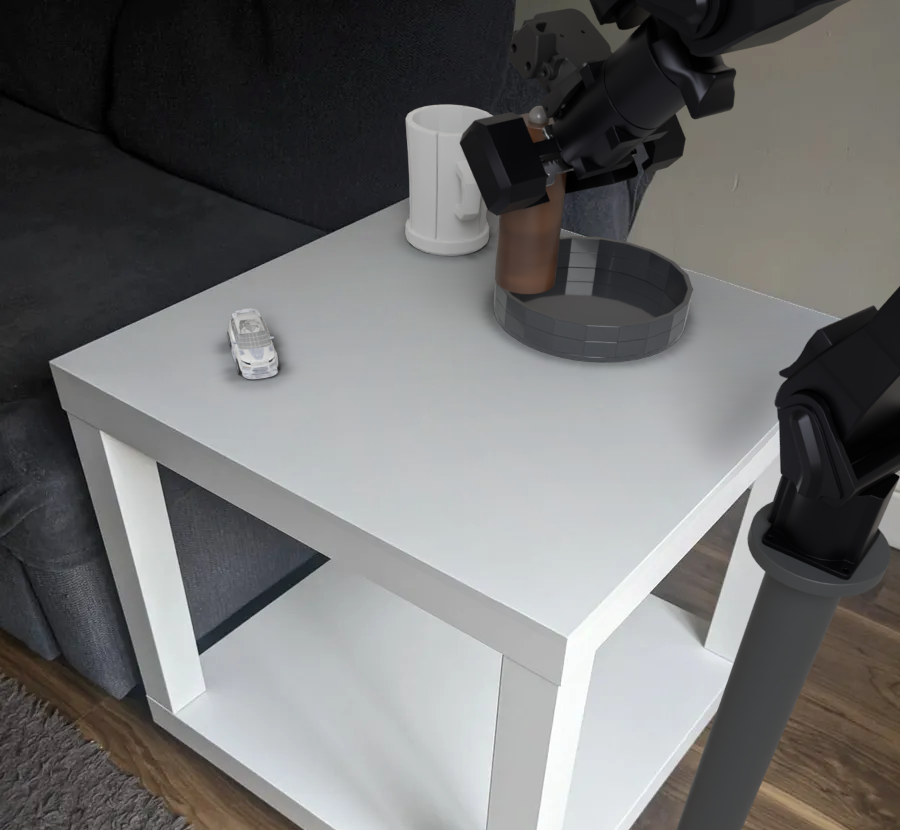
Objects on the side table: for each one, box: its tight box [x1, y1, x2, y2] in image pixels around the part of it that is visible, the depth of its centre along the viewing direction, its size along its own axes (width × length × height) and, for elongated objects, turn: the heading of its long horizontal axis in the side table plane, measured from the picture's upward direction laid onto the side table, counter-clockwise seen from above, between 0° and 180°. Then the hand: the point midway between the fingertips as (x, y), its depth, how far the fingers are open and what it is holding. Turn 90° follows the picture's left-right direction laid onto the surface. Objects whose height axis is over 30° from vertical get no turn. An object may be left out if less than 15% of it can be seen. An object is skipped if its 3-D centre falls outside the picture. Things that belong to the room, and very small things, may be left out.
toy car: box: [226, 307, 281, 380], centre depth 84 cm, size 4×8×3 cm, turn 18°
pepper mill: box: [494, 105, 567, 294], centre depth 80 cm, size 5×5×14 cm
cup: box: [404, 104, 493, 257], centre depth 99 cm, size 10×9×12 cm
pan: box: [493, 235, 694, 363], centre depth 92 cm, size 18×18×4 cm
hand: (521, 198), depth 81 cm, fingers closed on pepper mill, 5 cm apart
